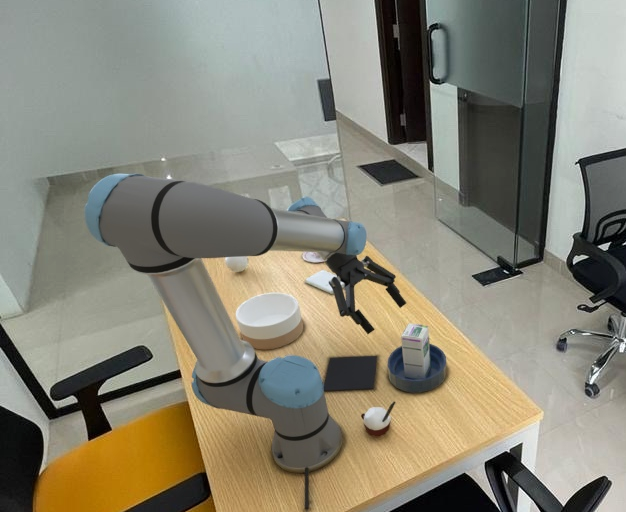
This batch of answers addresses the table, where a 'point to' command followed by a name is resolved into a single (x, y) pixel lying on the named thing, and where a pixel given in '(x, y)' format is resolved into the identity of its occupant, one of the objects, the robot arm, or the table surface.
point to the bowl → (269, 320)
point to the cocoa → (377, 420)
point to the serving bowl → (417, 385)
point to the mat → (350, 373)
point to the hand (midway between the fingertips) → (388, 318)
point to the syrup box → (416, 351)
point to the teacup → (312, 257)
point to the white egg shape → (236, 263)
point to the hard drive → (322, 281)
